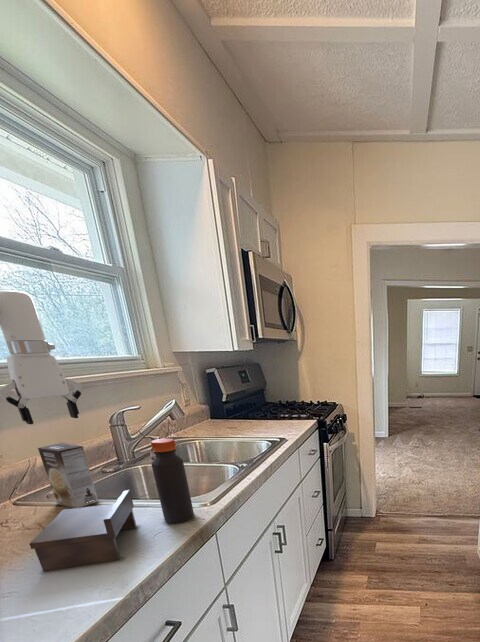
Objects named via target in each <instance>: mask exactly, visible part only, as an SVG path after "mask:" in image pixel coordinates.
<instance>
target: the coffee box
mask: <svg viewBox="0 0 480 642" xmlns="http://www.w3.org/2000/svg"><path fill="white" fill-rule="evenodd" d="M37 450H38V453H39V456H40V459H41V462H42V464H43V468H44V471H45V474H46V476H47V479H48V482H49V485H50V489H51V491H52V494H53V497H54V499H55V503H56V504H57V505H60V506H63V507H68V508H71V509H73V508H82V507H88V506H89V505H92V504H96V503H99V498H98V495H97V491H96V487H95V483H94V482H93V480H94V479H93V477H92V473H91V470H90V467H89V463H88V460H87V456H86V453H85V449H84V446H83V445H78V444H71V443H66V442H59V443H54V444H50V445H44V446H40V447H38V448H37ZM91 500H94V501H91ZM89 501H91V502H89ZM87 502H88V503H87Z"/></svg>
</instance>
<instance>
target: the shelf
mask: <svg viewBox="0 0 480 642" xmlns="http://www.w3.org/2000/svg"><path fill="white" fill-rule="evenodd" d="M134 507H135V505H134V501H133V496H132V492H131V490H130V489H125V490H123V491H122V492H121V494H120V496H118V498H117V500H116V501H115V502H114V503H110V504H109V503H108V504H102V505H101V504H100V505H92V506H84V507H81V508H65V509H62V510H61V511H60V512H59V513H58V514H57V515H56V516H55V517H54V518H53V519H52V520H51V521H50V522H49V523H48V524H47V525H46V526H45V527H44V528H43V529H42V530H41V531H40V532H39V533H38V534H37V535H36V536H35V537H34V538H33V539H32V540H31V541H30V542H29V547H30V550H34V551H35V554H36V556H37V559H38V561H39V565H40V567H41V569H42V571H43V572H48V571H54V570H61V569H62V570H63V569H68V568H74V567H82V566H88V565H94V564H101V563H107V562H115V561H120V560H121V554H120V549H119V547H118V544H117V541H116V538H117V536H118V535H119V533H120V531H121V530H127V529H135V528H137V522H136V518H135V513H134Z"/></svg>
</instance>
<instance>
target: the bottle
mask: <svg viewBox="0 0 480 642" xmlns="http://www.w3.org/2000/svg"><path fill="white" fill-rule="evenodd" d="M150 445H151V449H152V452H153V454H154V455H155V457H154V458H153V460H152V461H151V469H152V473H153V477H154V481H155V485H156V489H157V493H158V498H159V502H160V507H161V510H162V514H163V519H164V521H165V523H168V524H181V523H186V522H188V521H190V520H192V519H193V518H194V517H195V512H194V508H193V507H194V506H193V503H192V497H191V493H190V487H189V483H188V478H187V473H186V468H185V464H184V460H183V458H182V457H180V456H179V455H177V453H176V451H177V447H176V442H175V439H173V438H169V437H168V438H167V437H166V438H158V439H154V440H151V441H150Z"/></svg>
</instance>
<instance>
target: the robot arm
mask: <svg viewBox="0 0 480 642" xmlns="http://www.w3.org/2000/svg"><path fill="white" fill-rule="evenodd" d="M0 329H1V332H2V335H3V337H4V340H5V343H6V345H7V349H8V352H9V355H6V364H7V369H8V373H9V377H10V382H8V383H6V384H5V385H3V386H1V387H0V397H1V398H2V399H4V401H6V402H7V403H9V404H10V405H11V406H12V405H13V406H14V407H16V408H17V409H18V412H19V414H20V417H21V421H23V422H25V423H26V424H27V425H34V420H33V417H32V415H31V412H30V409H29V408H28V407H27V406H26V405H27V404H28V402H29V400H36V399H47V398H56V397H62V398H63V399H65V401H67V402H66V407H67V410H68V413H69V416H70V418H73V419H79V415H80V412H79V408H78V405H77V402H78V399H79V398H80V397H81V395H82V391H83V387H84V385H83V384H82V383H81V382H77V381H74V380H71V379H69V378H66V377H65V374H64V372H63V370H62V368H61V366H60V363H58V360H57V358H56V356H55V355H54V354H51V351H52V350H56V345H55V344H54V343H50V342H48V341H47V339H46V336H45V334H44V333H45V332H44V329H43V327H42V323H41V320H40V317H39V314H38V311H37V308H36V305H35V302H34V299H33V297H32V296H31V295H30V294H29V293H27V292H24V291H19V290H9V289H8V290H7V289H2V290H1V289H0ZM68 385H69V386H71V387H74V390H73V392H72V393H70V389H69V386H68ZM12 390H13V391H14V393H15V395H16V396H17V397H18V398H17V399H15V398H14V397H12V396H11V395H10V394H9V392H11V391H12Z"/></svg>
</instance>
